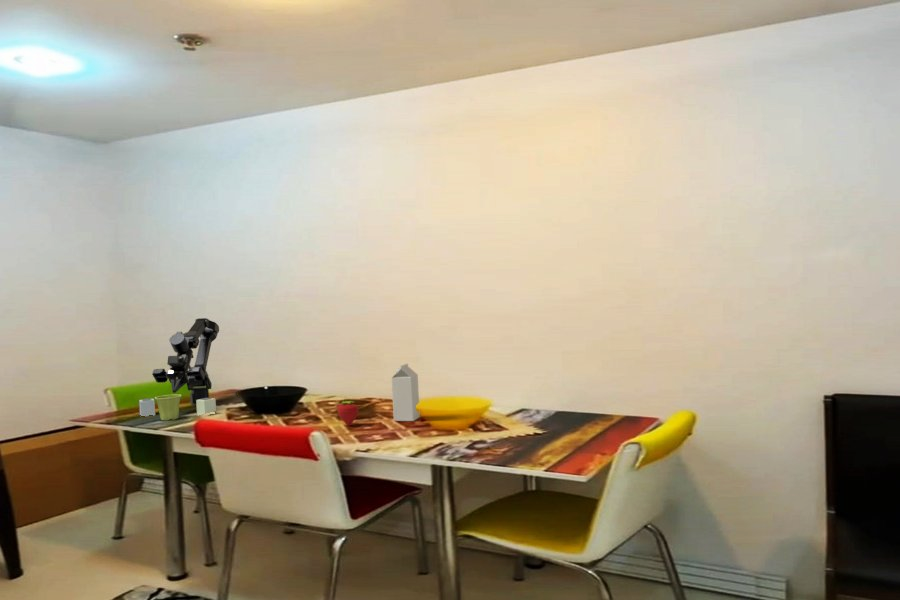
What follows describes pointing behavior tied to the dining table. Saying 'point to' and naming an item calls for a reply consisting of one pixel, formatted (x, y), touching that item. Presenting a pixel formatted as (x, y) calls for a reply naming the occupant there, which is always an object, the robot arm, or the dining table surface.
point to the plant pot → (168, 406)
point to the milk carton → (405, 394)
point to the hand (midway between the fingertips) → (173, 392)
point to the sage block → (205, 406)
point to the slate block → (147, 407)
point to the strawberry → (348, 412)
